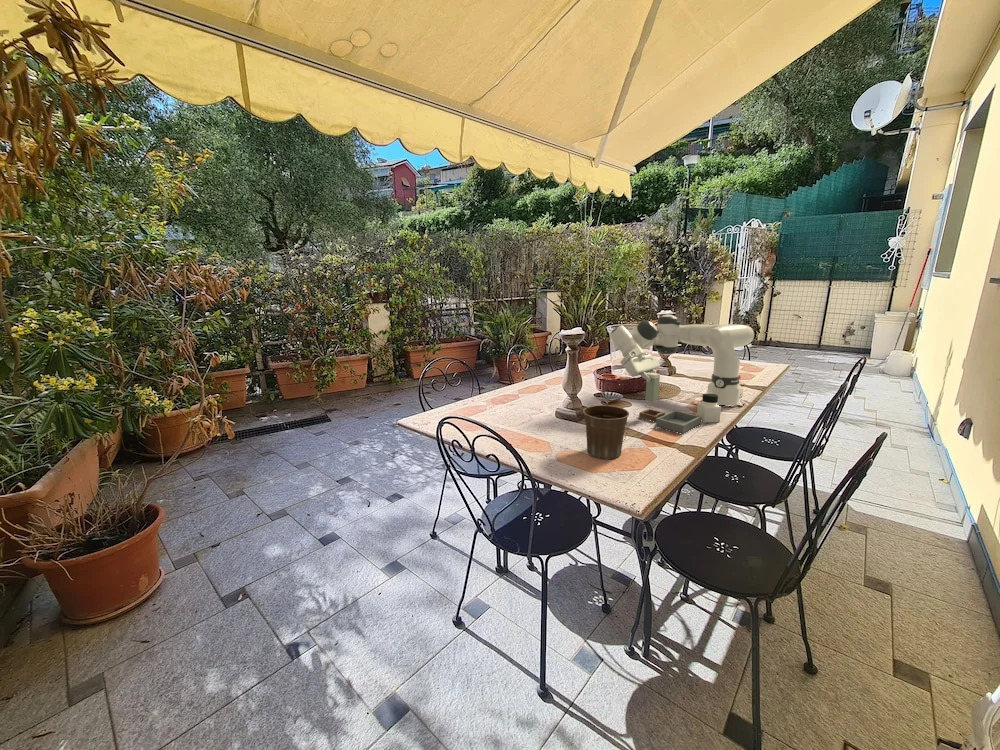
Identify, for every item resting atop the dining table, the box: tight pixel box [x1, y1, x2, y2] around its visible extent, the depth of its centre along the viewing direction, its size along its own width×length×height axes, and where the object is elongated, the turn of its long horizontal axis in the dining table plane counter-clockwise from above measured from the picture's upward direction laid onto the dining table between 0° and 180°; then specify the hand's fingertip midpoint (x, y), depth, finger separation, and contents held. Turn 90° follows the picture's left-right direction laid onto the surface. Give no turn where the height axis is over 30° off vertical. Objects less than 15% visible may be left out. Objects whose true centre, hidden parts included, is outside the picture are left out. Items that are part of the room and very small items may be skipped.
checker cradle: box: [638, 408, 666, 423], centre depth 188 cm, size 8×8×3 cm
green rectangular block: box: [644, 372, 661, 402], centre depth 185 cm, size 4×4×12 cm
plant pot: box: [582, 404, 630, 460], centre depth 151 cm, size 16×16×16 cm
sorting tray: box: [655, 409, 702, 435], centre depth 177 cm, size 16×12×4 cm
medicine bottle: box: [696, 392, 722, 423], centre depth 183 cm, size 7×7×12 cm
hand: (653, 380), depth 184 cm, fingers closed on green rectangular block, 4 cm apart
